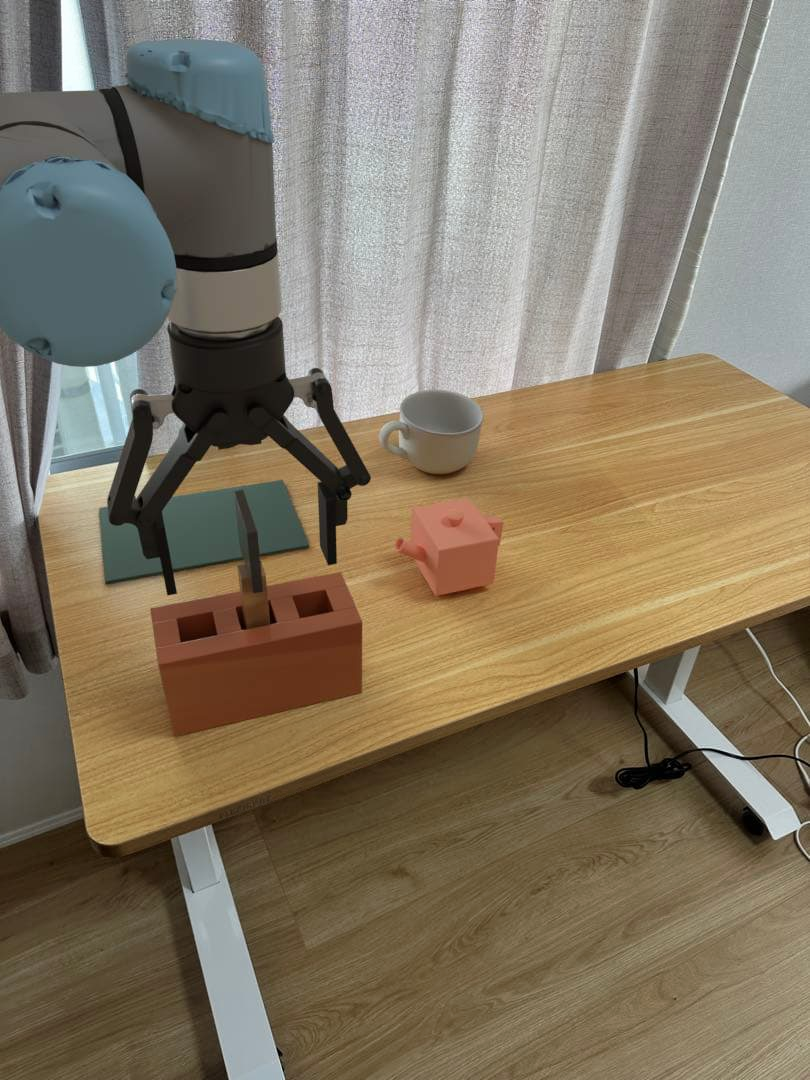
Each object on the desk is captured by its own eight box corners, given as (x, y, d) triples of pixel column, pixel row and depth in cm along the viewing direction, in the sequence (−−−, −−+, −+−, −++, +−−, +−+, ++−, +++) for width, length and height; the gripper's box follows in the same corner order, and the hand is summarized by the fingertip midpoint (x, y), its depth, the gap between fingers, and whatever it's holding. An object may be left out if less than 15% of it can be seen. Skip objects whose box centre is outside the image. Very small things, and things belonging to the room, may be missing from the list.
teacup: (460, 437, 112) (465, 384, 107) (491, 478, 104) (497, 423, 99) (364, 450, 108) (364, 397, 103) (388, 494, 100) (390, 438, 95)
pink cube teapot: (381, 564, 89) (383, 503, 84) (480, 544, 93) (487, 484, 88) (405, 609, 84) (408, 547, 79) (509, 587, 87) (519, 525, 82)
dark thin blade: (259, 712, 72) (238, 534, 60) (246, 665, 77) (225, 491, 64) (281, 707, 73) (265, 530, 60) (267, 661, 77) (250, 487, 65)
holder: (362, 692, 74) (362, 621, 69) (173, 737, 70) (158, 664, 64) (341, 641, 80) (340, 571, 74) (165, 679, 75) (150, 607, 69)
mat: (105, 584, 85) (105, 581, 85) (99, 510, 95) (99, 507, 95) (309, 547, 91) (309, 545, 91) (282, 482, 102) (282, 479, 101)
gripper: (384, 281, 59) (379, 518, 72) (25, 313, 52) (92, 568, 65) (418, 320, 54) (407, 569, 67) (23, 362, 47) (96, 630, 60)
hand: (251, 569), depth 66 cm, fingers open, 12 cm apart
